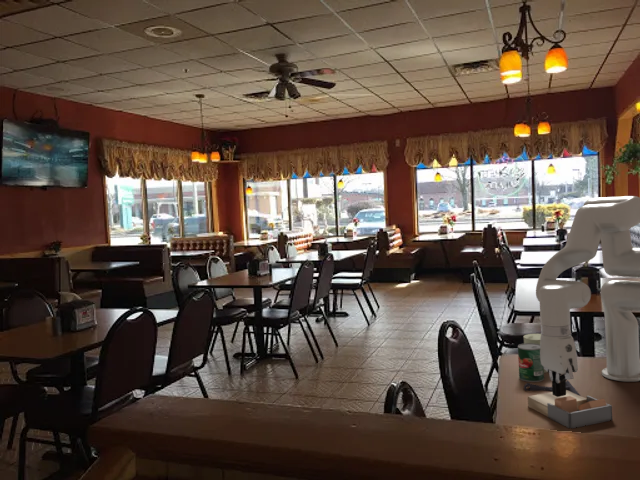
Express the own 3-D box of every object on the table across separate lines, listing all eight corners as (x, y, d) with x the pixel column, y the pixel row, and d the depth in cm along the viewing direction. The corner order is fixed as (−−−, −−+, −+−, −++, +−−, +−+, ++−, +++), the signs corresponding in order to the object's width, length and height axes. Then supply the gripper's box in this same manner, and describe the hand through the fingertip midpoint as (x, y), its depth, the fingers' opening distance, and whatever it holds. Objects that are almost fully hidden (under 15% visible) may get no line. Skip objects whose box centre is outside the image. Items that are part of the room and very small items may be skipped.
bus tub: (588, 409, 154) (588, 395, 154) (612, 420, 146) (611, 405, 146) (548, 417, 151) (547, 403, 150) (569, 428, 142) (569, 413, 142)
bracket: (520, 384, 180) (519, 376, 180) (568, 384, 178) (568, 375, 177) (528, 400, 166) (528, 391, 166) (581, 400, 163) (580, 391, 163)
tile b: (569, 395, 151) (576, 398, 148) (570, 413, 151) (577, 416, 149) (554, 398, 149) (561, 401, 147) (555, 416, 150) (561, 420, 147)
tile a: (604, 398, 147) (608, 407, 146) (592, 403, 152) (596, 412, 150) (588, 401, 146) (592, 411, 145) (577, 406, 150) (581, 415, 149)
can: (519, 367, 196) (517, 334, 195) (540, 363, 199) (539, 331, 198) (536, 374, 187) (535, 339, 186) (558, 370, 190) (557, 336, 189)
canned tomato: (514, 379, 184) (513, 347, 183) (525, 373, 189) (524, 341, 188) (538, 383, 178) (536, 350, 177) (548, 377, 183) (546, 345, 183)
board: (565, 399, 163) (565, 389, 163) (588, 409, 154) (587, 399, 154) (528, 406, 159) (527, 396, 159) (548, 417, 151) (548, 406, 151)
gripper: (587, 333, 144) (590, 401, 146) (549, 323, 159) (552, 384, 160) (563, 338, 142) (567, 406, 144) (526, 326, 157) (530, 389, 158)
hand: (559, 395), depth 152 cm, fingers closed
